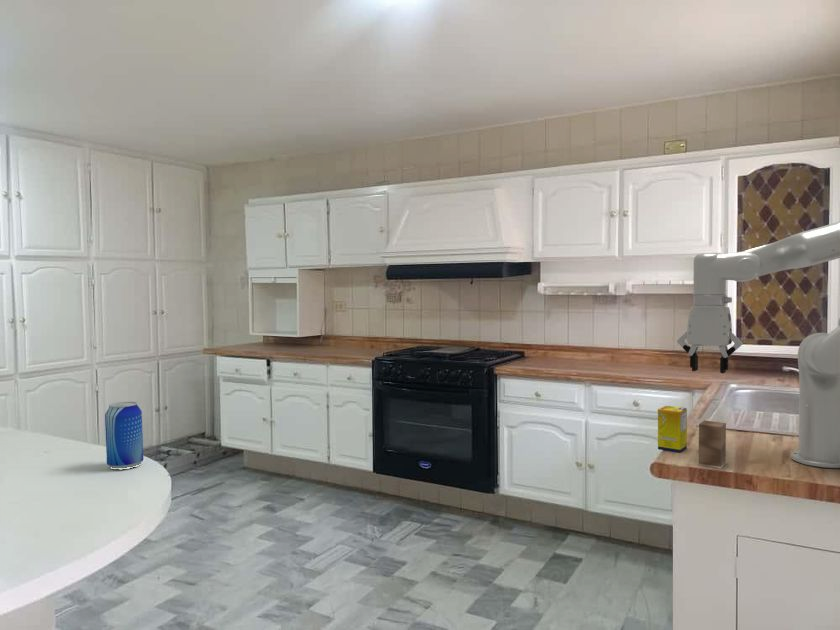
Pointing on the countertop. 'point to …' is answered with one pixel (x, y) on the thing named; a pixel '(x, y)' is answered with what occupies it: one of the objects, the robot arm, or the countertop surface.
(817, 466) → the robot arm
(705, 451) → the walnut block
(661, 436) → the supplement box
